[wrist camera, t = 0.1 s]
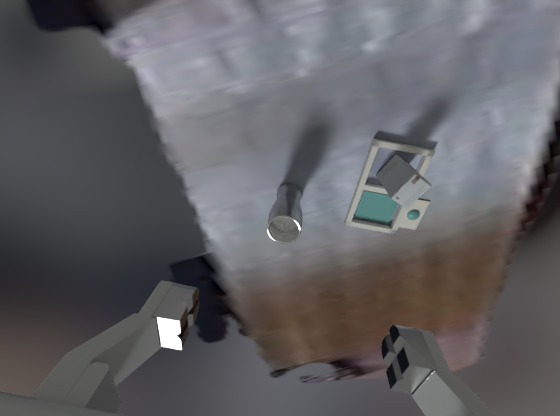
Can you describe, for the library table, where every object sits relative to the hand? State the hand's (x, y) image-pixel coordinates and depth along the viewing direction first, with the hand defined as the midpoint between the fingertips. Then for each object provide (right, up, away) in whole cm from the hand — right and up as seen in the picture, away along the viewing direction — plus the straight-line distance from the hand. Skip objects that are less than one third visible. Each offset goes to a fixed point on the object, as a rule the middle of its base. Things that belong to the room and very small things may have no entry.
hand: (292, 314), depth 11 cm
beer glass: (+2, +8, +51) cm, 52 cm away
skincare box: (+24, +13, +45) cm, 53 cm away
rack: (+26, +8, +48) cm, 55 cm away
